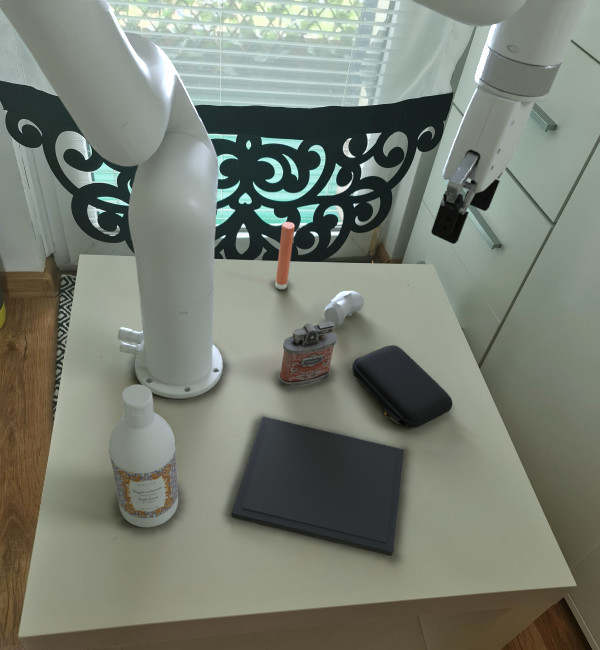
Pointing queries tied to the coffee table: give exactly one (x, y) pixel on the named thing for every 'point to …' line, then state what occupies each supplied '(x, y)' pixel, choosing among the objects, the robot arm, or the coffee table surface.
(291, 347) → the lighter
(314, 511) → the tablet
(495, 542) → the coffee table surface
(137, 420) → the bath foam
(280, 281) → the orange cylindrical rod
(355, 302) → the pale two-lobed sculpture
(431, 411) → the carrying case
